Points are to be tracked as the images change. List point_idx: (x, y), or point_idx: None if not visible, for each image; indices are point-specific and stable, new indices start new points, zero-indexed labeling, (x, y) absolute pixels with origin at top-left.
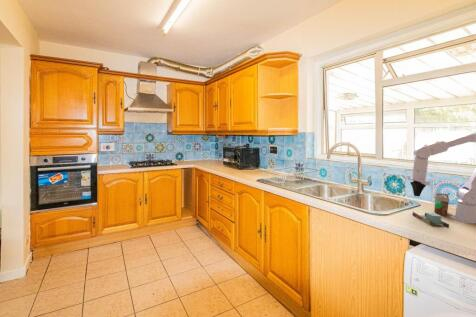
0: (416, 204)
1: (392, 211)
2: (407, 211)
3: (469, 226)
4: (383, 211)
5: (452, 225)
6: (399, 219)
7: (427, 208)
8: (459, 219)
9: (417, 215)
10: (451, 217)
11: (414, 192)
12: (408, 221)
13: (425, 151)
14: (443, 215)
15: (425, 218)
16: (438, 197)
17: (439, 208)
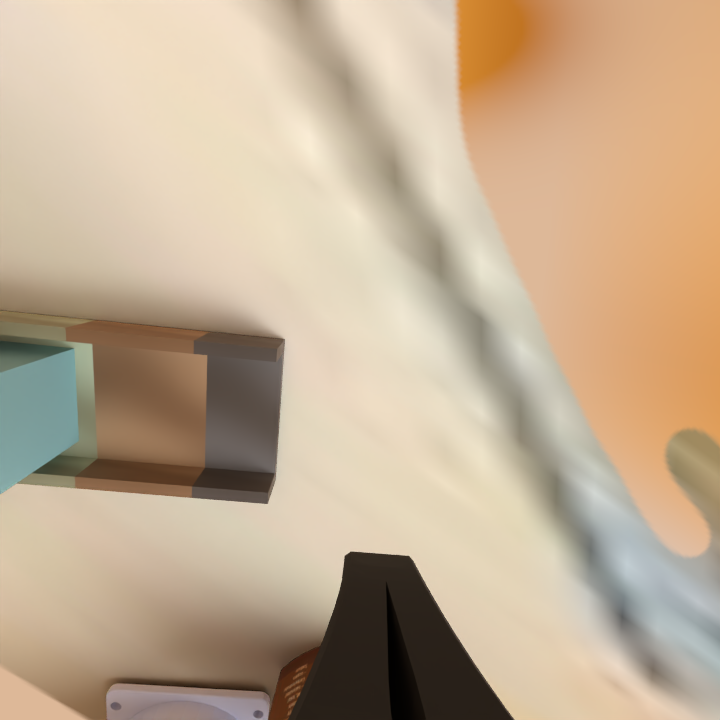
0: (684, 663)
1: (429, 165)
2: (437, 386)
3: (34, 674)
4: (424, 3)
5: (19, 548)
6: (84, 22)
7: (543, 678)
8: (159, 709)
9: (171, 334)
10: (245, 693)
11: (380, 611)
12: (27, 110)
13: None
14: (297, 664)
15: (15, 331)
16: None
17: None
